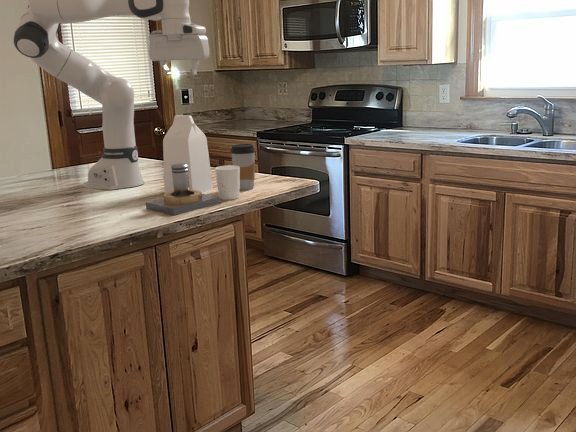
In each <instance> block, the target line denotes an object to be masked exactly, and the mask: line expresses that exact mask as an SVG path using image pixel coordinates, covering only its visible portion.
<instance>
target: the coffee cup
mask: <svg viewBox="0 0 576 432" xmlns="http://www.w3.org/2000/svg"><path fill="white" fill-rule="evenodd" d="M255 149H256V148H255V146H254V144H252V143H239V144H233V145H232V146H231V149H230V153H231V160H232V165H235V166H239V167H240V189H239V190H240V191H250V190H254V188H255V175H256V172H255V171H256V170H255V168H256V165H255V164H256V162H255V159H256V158H255V155H256V154H255V152H256V150H255Z"/></svg>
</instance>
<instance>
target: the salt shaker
mask: <svg viewBox="0 0 576 432" xmlns="http://www.w3.org/2000/svg"><path fill="white" fill-rule="evenodd" d="M171 169H172V178H173V188H174V196H188V195H191V194H190V183H189V172H188V164H186V163H179V164H173V165H171Z"/></svg>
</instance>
